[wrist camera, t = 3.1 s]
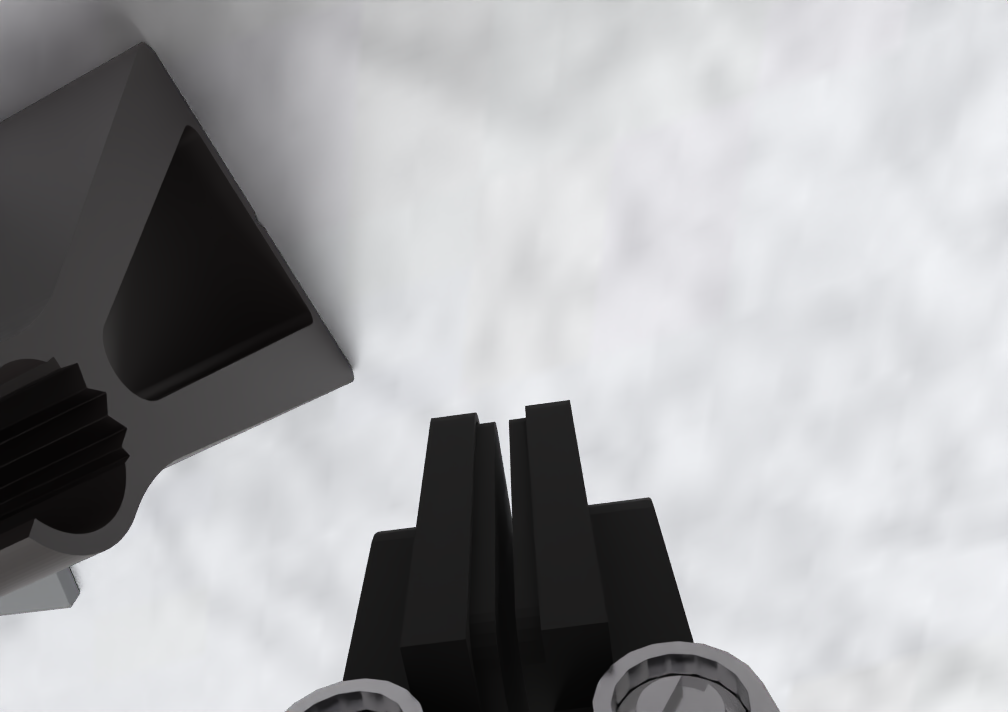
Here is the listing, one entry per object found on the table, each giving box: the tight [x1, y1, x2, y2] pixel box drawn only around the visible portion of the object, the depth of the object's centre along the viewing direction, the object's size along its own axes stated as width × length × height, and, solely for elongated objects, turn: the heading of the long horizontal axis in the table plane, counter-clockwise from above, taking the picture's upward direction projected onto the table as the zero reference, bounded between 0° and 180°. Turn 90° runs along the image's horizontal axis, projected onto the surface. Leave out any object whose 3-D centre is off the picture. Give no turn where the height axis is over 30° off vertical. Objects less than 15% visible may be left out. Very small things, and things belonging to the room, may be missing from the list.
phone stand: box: [0, 42, 354, 597], centre depth 16 cm, size 9×6×12 cm, turn 26°
